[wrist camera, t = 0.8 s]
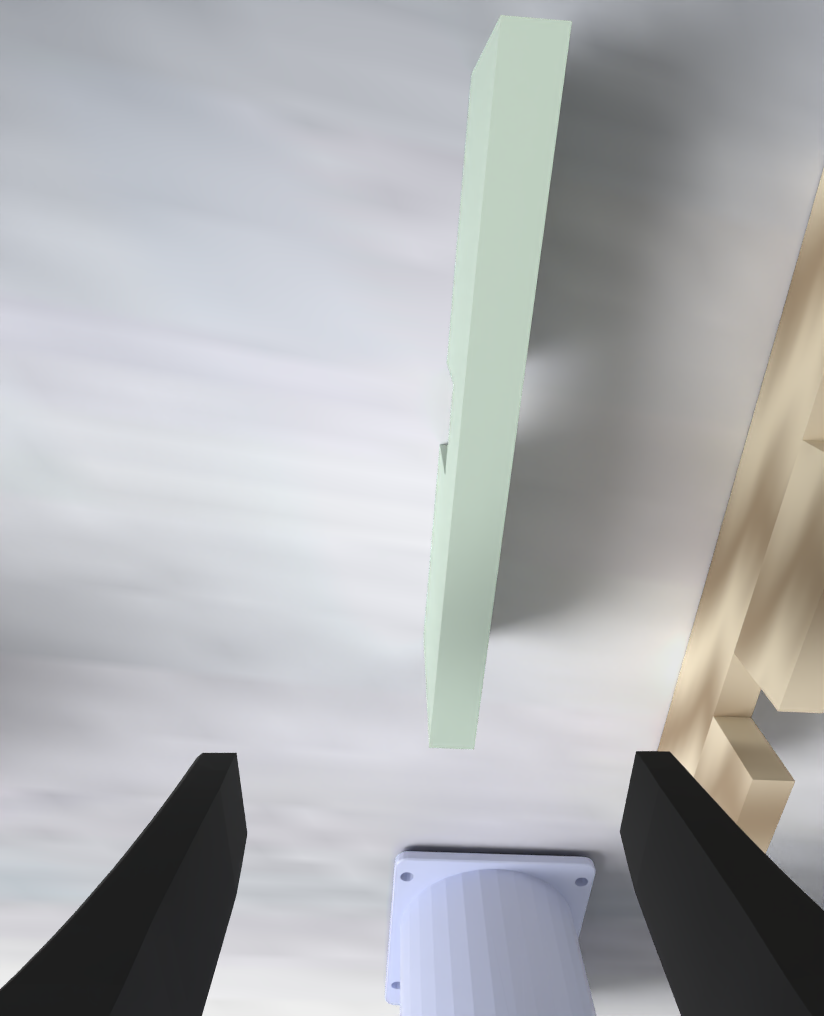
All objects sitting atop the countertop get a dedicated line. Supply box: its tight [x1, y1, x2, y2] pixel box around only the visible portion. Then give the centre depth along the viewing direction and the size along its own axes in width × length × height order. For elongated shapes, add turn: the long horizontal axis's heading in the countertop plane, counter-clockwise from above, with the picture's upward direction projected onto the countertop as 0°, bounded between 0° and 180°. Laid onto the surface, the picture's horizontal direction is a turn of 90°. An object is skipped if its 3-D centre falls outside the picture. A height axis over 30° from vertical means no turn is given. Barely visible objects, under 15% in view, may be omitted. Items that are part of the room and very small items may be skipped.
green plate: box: [424, 15, 572, 749], centre depth 16 cm, size 16×1×5 cm, turn 176°
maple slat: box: [658, 169, 824, 854], centre depth 18 cm, size 20×1×5 cm, turn 176°
